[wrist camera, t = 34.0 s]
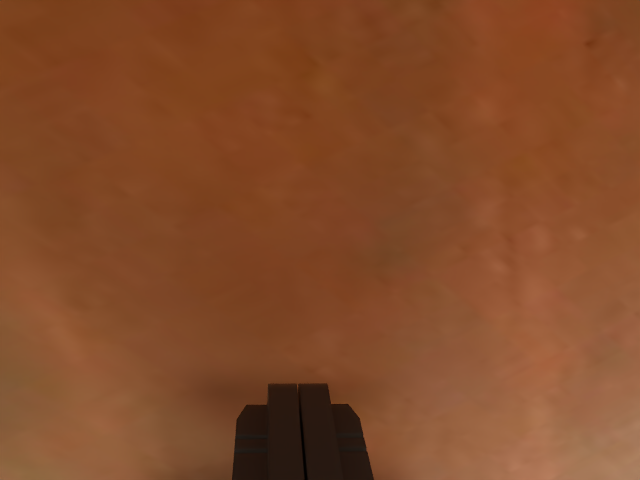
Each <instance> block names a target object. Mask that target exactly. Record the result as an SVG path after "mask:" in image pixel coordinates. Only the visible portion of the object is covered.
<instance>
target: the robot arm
mask: <svg viewBox="0 0 640 480" xmlns="http://www.w3.org/2000/svg"><path fill="white" fill-rule="evenodd" d="M232 480H374V478H373V474H372V470H371V465H370V461H369V457H368V453H367V451H366V444H365V440H364V438H363V431H362V427H361V422H360V418H359V417H358V416H357V414H356V413H355V412H354V411H353V410H352V408H351V407H350V406H349V405H348V404H331V402H330V396H329V390H328V385H327V383H322V384H298V393H297V384H268V397H267V405H246V406H245V408H244V409H243V411H242V412H241V414H240V415H239V417H238V418H237V423H236V436H235V449H234V462H233V475H232Z"/></svg>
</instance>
